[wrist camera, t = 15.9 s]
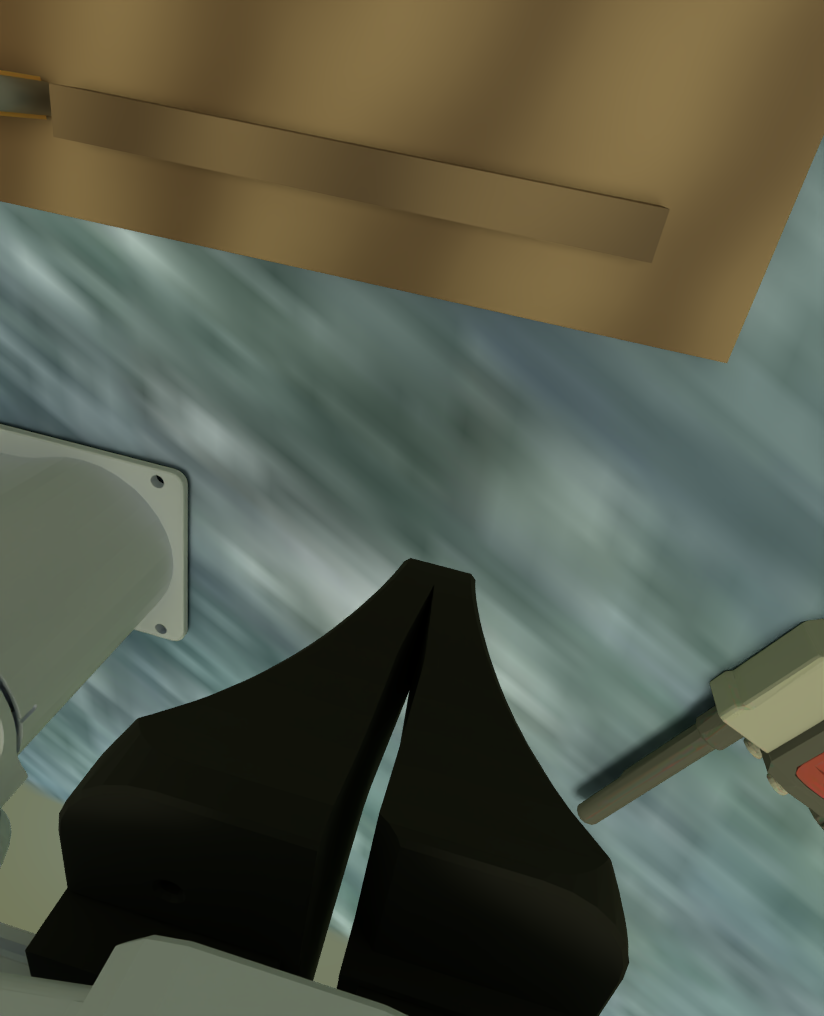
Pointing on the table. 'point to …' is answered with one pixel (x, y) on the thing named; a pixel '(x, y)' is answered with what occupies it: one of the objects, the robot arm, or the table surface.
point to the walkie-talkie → (748, 727)
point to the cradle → (441, 144)
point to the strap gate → (24, 96)
